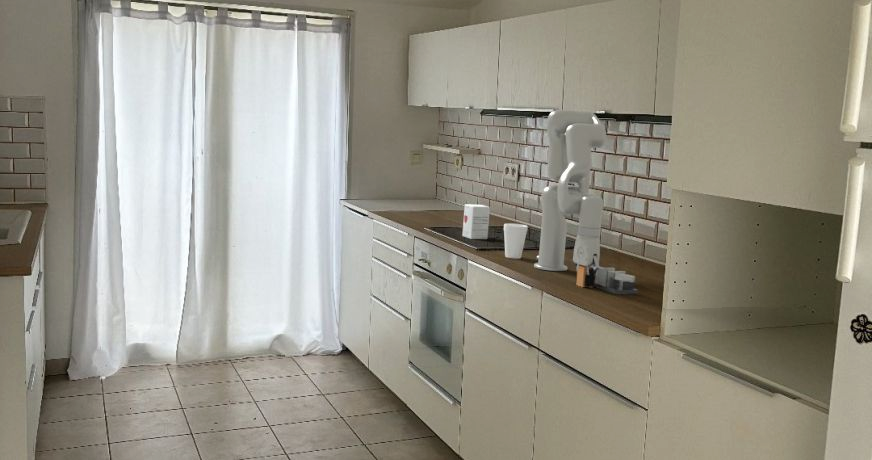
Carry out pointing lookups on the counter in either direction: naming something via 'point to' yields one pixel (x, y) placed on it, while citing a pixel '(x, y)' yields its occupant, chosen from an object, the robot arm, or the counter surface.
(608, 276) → the shaft stand
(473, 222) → the supplement box
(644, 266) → the counter surface
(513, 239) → the foam cup
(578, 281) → the orange block
